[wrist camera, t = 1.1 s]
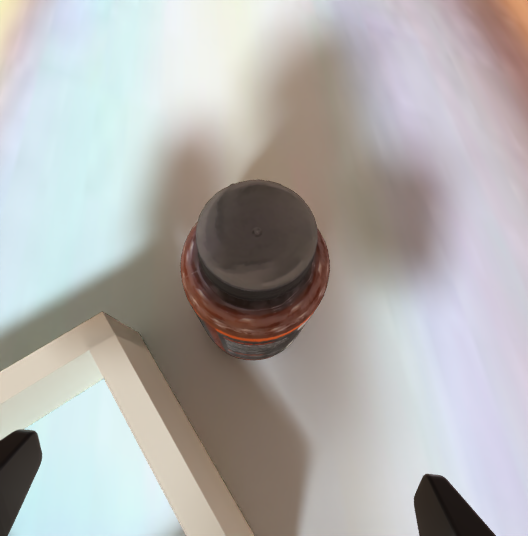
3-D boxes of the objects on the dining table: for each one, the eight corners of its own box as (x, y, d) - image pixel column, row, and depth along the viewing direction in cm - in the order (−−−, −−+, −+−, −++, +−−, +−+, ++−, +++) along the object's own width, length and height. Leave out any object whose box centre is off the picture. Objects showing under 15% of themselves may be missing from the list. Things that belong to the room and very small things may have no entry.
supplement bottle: (320, 333, 22) (386, 274, 12) (229, 380, 21) (210, 362, 11) (274, 249, 24) (295, 130, 13) (188, 289, 23) (135, 193, 12)
